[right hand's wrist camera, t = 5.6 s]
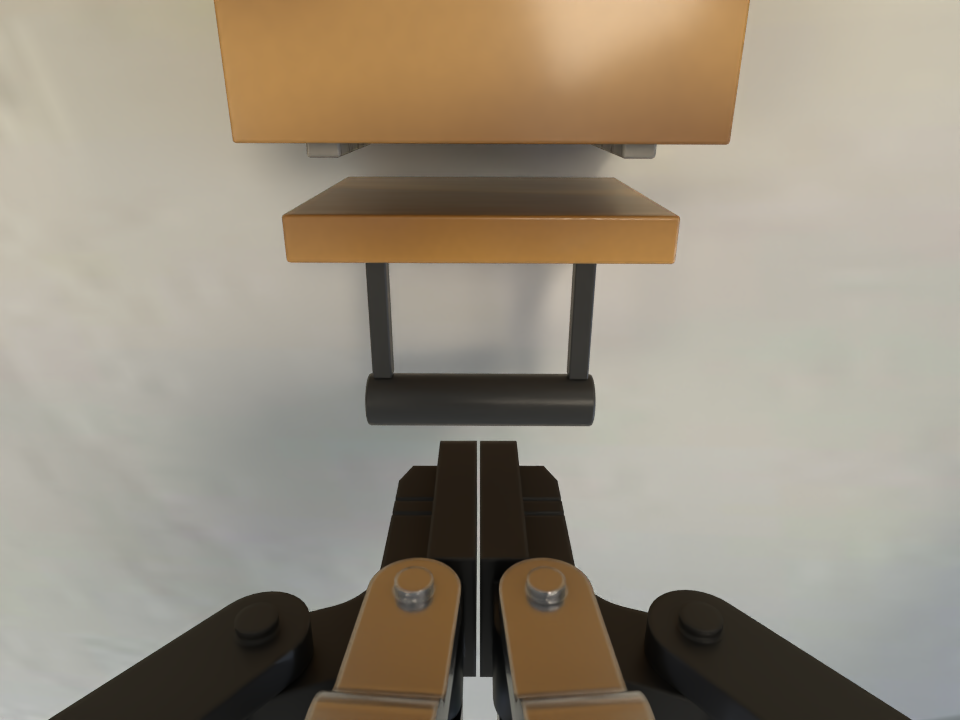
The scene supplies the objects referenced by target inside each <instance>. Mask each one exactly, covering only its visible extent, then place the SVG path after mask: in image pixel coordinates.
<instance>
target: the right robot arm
mask: <svg viewBox="0 0 960 720" xmlns="http://www.w3.org/2000/svg"><path fill="white" fill-rule="evenodd" d="M476 597H477V441H440V448H439V457H438V465H437V466H413V467H412V468H411V469H410V470H409V471H408V472H407V473H406V474H405V475H404V476H403V477H402V478H401V479H400V480H399V485H398V489H397V494H396V501H395V503H394V508H393V515H392V517H391V522H390V527H389V531H388V536H387V541H386V546H385V550H384V555H383V560H382V564H381V569H380V571H378V572H377V573H376V574H375V575H374V577H373V578H372V579H371V581H370V583H369V585H368V588H367V590H366V591H364V592H363V593H362V594H360V595H359V596H357V597H355V598H353V599H352V600H349V601H347V602H345V603H342V604H339V605H336V606H332V607H328V608H324V609H320V610H316V611H312V612H309V610H308V608H307V606H306V605H305V603H304V602H303V601H302V600H301V599H299V598H298V597H296V596H294V595H291V594H288V593H284V592H273V591H271V592H261V593H256V594H252V595H249V596H246V597H244V598H241V599H239V600H237V601H235V602H233V603H231V604H230V605H228V606H226V607H225V608H223V609H222V610H220V611H219V612H217V613H215V614H214V615H212V616H211V617H209V618H208V619H206V620H204V621H203V622H201V623H200V624H198V625H197V626H195V627H193V628H192V629H190V630H189V631H187V632H185V633H184V634H182V635H181V636H179V637H178V638H176V639H174V640H173V641H171V642H170V643H168V644H167V645H165V646H163V647H162V648H160V649H159V650H157V651H156V652H154V653H152V654H151V655H149V656H148V657H146V658H145V659H143V660H141V661H140V662H138V663H137V664H135V665H134V666H132V667H130V668H129V669H127V670H126V671H124V672H123V673H121V674H119V675H118V676H116V677H115V678H113V679H112V680H110V681H108V682H107V683H105V684H104V685H102V686H101V687H99V688H97V689H96V690H94V691H93V692H91V693H89V694H88V695H86V696H85V697H83V698H82V699H80V700H78V701H77V702H75V703H74V704H72V705H71V706H69V707H67V708H66V709H64V710H63V711H61V712H60V713H58V714H56V715H55V716H53V717H52V718H50V719H49V720H463V677H476ZM480 677H493V701H494V706H495V709H496V711H497V720H911V719H910V718H908V717H907V716H905V715H904V714H902V713H900V712H899V711H897V710H896V709H894V708H893V707H891V706H889V705H888V704H886V703H885V702H883V701H881V700H880V699H878V698H877V697H875V696H874V695H872V694H870V693H869V692H867V691H866V690H864V689H863V688H861V687H859V686H858V685H856V684H855V683H853V682H852V681H850V680H848V679H847V678H845V677H844V676H842V675H841V674H839V673H837V672H836V671H834V670H833V669H831V668H830V667H828V666H826V665H825V664H823V663H822V662H820V661H819V660H817V659H815V658H814V657H812V656H811V655H809V654H808V653H806V652H804V651H803V650H801V649H800V648H798V647H797V646H795V645H793V644H792V643H790V642H789V641H787V640H786V639H784V638H782V637H781V636H779V635H778V634H776V633H774V632H773V631H771V630H770V629H768V628H767V627H765V626H763V625H762V624H760V623H759V622H757V621H756V620H754V619H752V618H751V617H749V616H748V615H746V614H745V613H743V612H741V611H740V610H738V609H737V608H735V607H734V606H732V605H730V604H729V603H727V602H725V601H724V600H722V599H720V598H718V597H715V596H713V595H710V594H707V593H704V592H699V591H692V590H677V591H671V592H668V593H665V594H663V595H661V596H659V597H658V598H657V599H656V600H654V601H653V603H652V604H651V606H650V608H649V611H648V613H647V612H643V611H639V610H635V609H631V608H627V607H623V606H619V605H616V604H613V603H610V602H608V601H606V600H604V599H602V598H600V597H598V596H597V595H595V594H594V591H593V588H592V585H591V583H590V581H589V579H588V578H587V577H586V575H585V574H584V573H583V572H582V571H580V570H579V569H578V568H576V567H575V565H574V560H573V555H572V550H571V545H570V540H569V535H568V530H567V526H566V521H565V516H564V511H563V506H562V501H561V496H560V491H559V486H558V482H557V480H556V479H555V478H554V477H553V476H552V475H551V473H550V472H549V471H548V470H547V469H546V468H545V467H544V466H519V460H518V451H517V442H516V441H480Z"/></svg>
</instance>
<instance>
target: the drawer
mask: <svg viewBox="0 0 960 720" xmlns="http://www.w3.org/2000/svg"><path fill="white" fill-rule="evenodd" d="M369 144H372V143H306V149H307V155H308V157H340V156H342V155H345V154H347V153H350V152H352V151H355V150H357V149H360V148H362V147H364V146H367V145H369ZM591 145H594V146H596V147H599V148H601V149H603V150H606V151H608V152H610V153H613V154H615V155H618V156H620V157H622V158H637V159H652V158H654V157H655V155H656V145H657V144H591ZM282 222H283V231H284V240H285V249H286V258H287V261H288V262H291V263H366V278H367V293H368V309H369V324H370V339H371V354H372V369H373V373H372V374H370V375H369V377H368V379H367V384H366V394H365V408H366V417H367V421H368V423H369V424H370V425H446V426H591V425H592V423H593V420H594V416H595V386H594V381H593V378H592V376H591V375H590V374H588V372H589V358H590V344H591V331H592V317H593V303H594V289H595V276H596V264H672V263H674V262H675V257H676V248H677V240H678V232H679V223H680V218H679V216H677V215H676V214H674V213H672V212H671V211H669V210H667V209H666V208H664V207H662V206H661V205H659V204H657V203H656V202H654V201H652V200H651V199H649V198H647V197H646V196H644V195H642V194H641V193H639V192H637V191H636V190H634V189H632V188H631V187H629V186H627V185H626V184H624V183H622V182H621V181H619V180H617V179H616V178H547V177H347V178H346V179H344V180H342V181H340V182H339V183H337V184H335V185H334V186H332V187H330V188H328V189H327V190H325V191H323V192H322V193H320V194H318V195H316V196H315V197H313V198H311V199H310V200H308V201H306V202H304V203H303V204H301V205H299V206H298V207H296V208H294V209H293V210H291V211H289V212H287V213H286V214H284V215H283V216H282ZM388 263H557V264H573V276H572V293H571V310H570V326H569V343H568V360H567V374H438V373H393V372H394V360H393V341H392V322H391V303H390V283H389V264H388Z"/></svg>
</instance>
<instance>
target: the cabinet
mask: <svg viewBox="0 0 960 720" xmlns="http://www.w3.org/2000/svg"><path fill="white" fill-rule="evenodd" d="M749 3H750V0H214V4H215V12H216V19H217V27H218V34H219V41H220V49H221V56H222V63H223V71H224V78H225V86H226V93H227V100H228V108H229V115H230V122H231V130H232V137H233V141H234V142H235V143H406V144H701V145H726V144H729V142H730V136H731V129H732V122H733V115H734V108H735V101H736V94H737V87H738V80H739V73H740V66H741V59H742V52H743V45H744V38H745V31H746V24H747V17H748V10H749Z"/></svg>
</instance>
